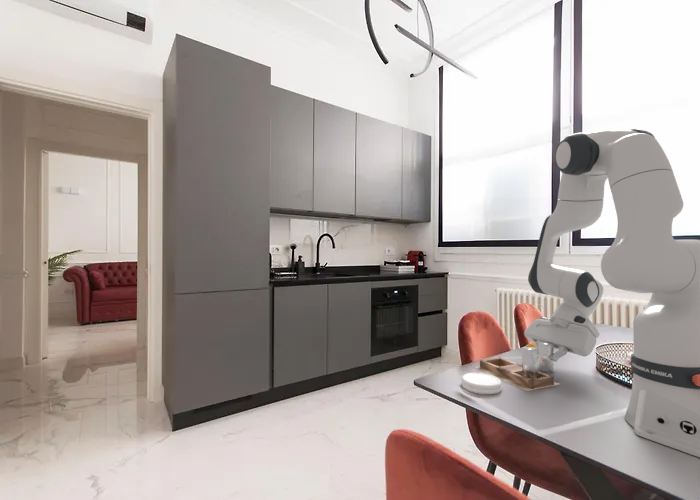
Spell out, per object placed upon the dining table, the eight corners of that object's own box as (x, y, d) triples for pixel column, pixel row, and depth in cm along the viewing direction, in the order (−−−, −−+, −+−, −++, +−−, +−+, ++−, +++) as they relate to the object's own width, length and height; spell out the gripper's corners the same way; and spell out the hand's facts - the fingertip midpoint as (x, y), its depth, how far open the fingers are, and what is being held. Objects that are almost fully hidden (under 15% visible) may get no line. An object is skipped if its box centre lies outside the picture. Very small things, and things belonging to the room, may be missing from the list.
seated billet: (541, 382, 95) (541, 349, 95) (530, 385, 94) (530, 351, 94) (529, 378, 99) (529, 346, 99) (518, 380, 98) (518, 347, 98)
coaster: (506, 401, 87) (505, 386, 87) (464, 398, 89) (463, 384, 89) (497, 385, 97) (497, 373, 97) (459, 383, 99) (459, 371, 99)
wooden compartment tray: (560, 387, 95) (560, 376, 95) (527, 394, 90) (527, 383, 90) (503, 365, 113) (503, 356, 113) (473, 370, 109) (473, 360, 109)
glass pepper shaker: (557, 374, 104) (556, 344, 104) (547, 376, 103) (546, 345, 103) (545, 370, 108) (544, 341, 108) (535, 372, 107) (535, 342, 107)
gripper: (533, 310, 118) (511, 342, 114) (595, 321, 99) (570, 360, 95) (543, 322, 119) (521, 354, 116) (605, 335, 100) (582, 374, 97)
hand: (544, 357), depth 105 cm, fingers closed on glass pepper shaker, 4 cm apart
